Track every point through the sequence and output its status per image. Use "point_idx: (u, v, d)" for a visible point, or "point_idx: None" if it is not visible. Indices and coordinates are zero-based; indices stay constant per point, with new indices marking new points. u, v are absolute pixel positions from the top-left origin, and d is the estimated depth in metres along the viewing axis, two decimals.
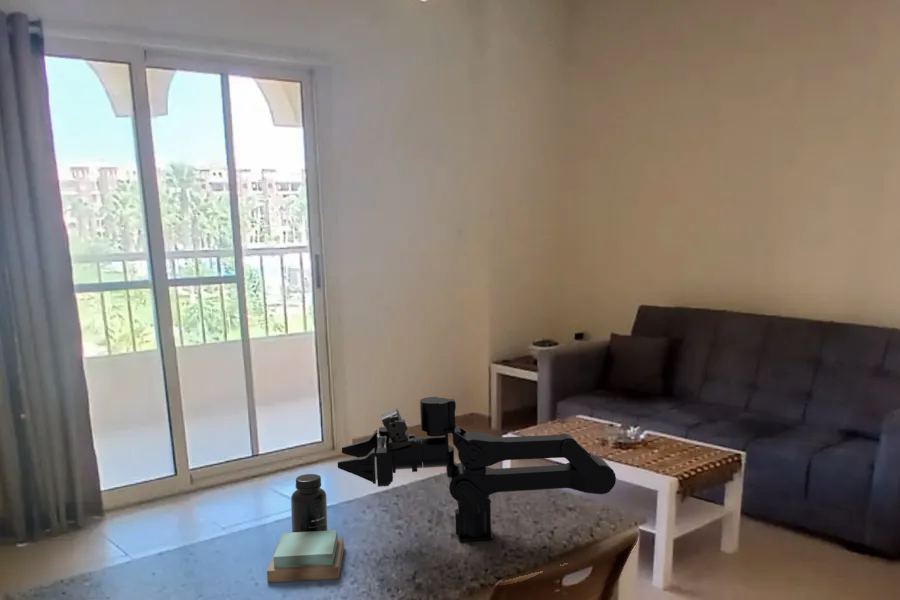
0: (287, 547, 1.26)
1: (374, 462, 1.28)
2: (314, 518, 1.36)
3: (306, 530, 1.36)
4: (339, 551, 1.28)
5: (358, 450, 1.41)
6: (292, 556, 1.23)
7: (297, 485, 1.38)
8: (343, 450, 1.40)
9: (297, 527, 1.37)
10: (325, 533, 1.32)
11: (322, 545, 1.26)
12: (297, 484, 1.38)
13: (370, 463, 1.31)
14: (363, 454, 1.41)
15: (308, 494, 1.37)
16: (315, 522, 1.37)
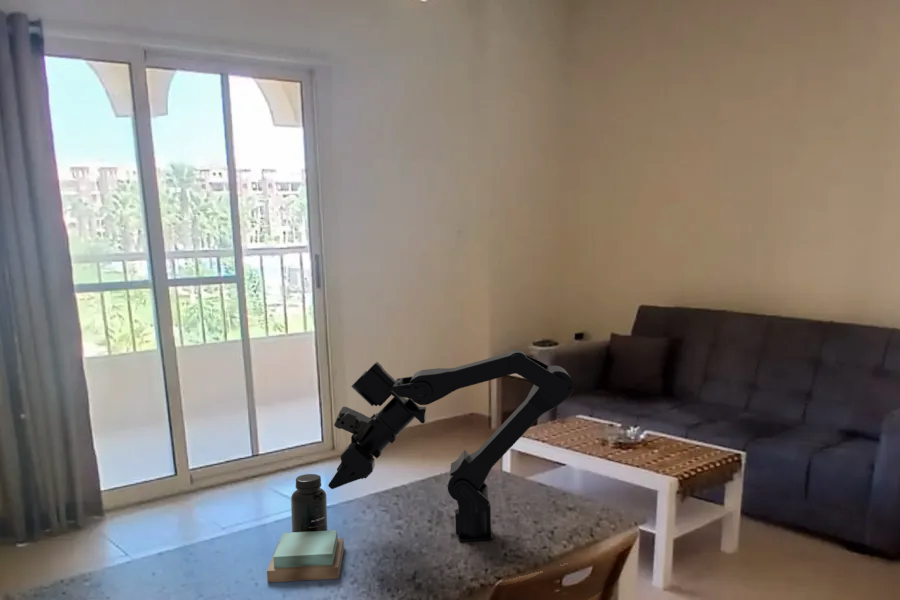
0: (287, 547, 1.26)
1: (347, 463, 1.30)
2: (314, 518, 1.36)
3: (306, 530, 1.36)
4: (339, 551, 1.28)
5: None
6: (292, 556, 1.23)
7: (297, 485, 1.38)
8: None
9: (297, 527, 1.37)
10: (325, 533, 1.32)
11: (322, 545, 1.26)
12: (297, 484, 1.38)
13: None
14: None
15: (308, 494, 1.37)
16: (315, 522, 1.37)
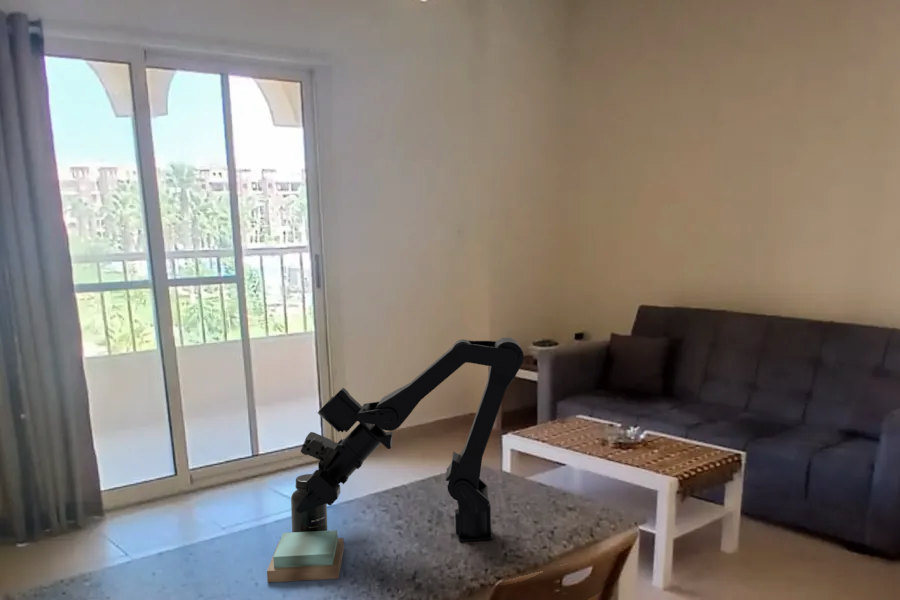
0: (287, 547, 1.26)
1: None
2: (314, 518, 1.36)
3: (306, 530, 1.36)
4: (339, 551, 1.28)
5: None
6: (292, 556, 1.23)
7: (297, 485, 1.38)
8: None
9: (297, 527, 1.37)
10: (325, 533, 1.32)
11: (322, 545, 1.26)
12: (297, 484, 1.38)
13: None
14: None
15: None
16: (315, 522, 1.37)
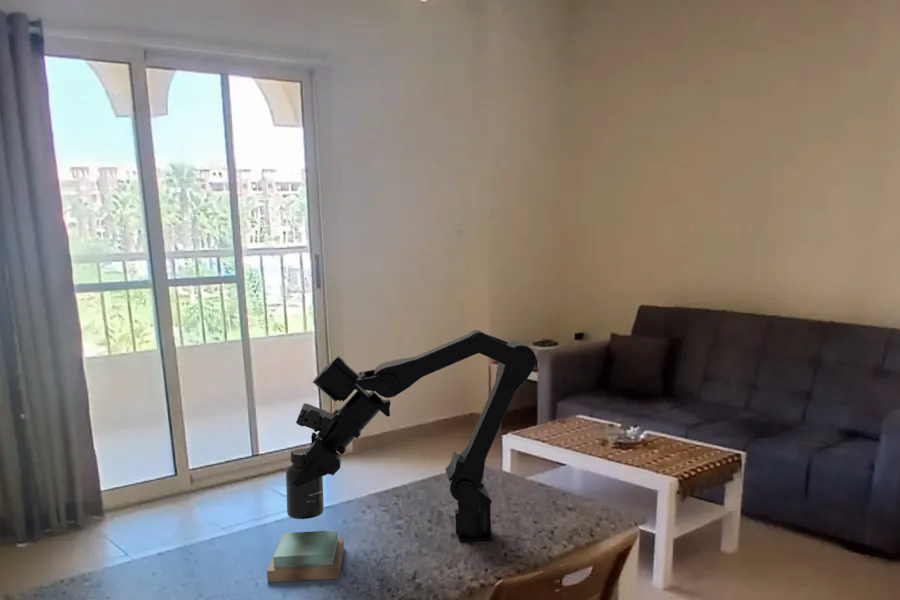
0: (287, 547, 1.26)
1: None
2: (312, 492, 1.32)
3: (304, 505, 1.31)
4: (339, 551, 1.28)
5: None
6: (292, 556, 1.23)
7: (293, 459, 1.33)
8: None
9: (293, 502, 1.32)
10: (325, 533, 1.32)
11: (322, 545, 1.26)
12: (293, 458, 1.33)
13: (315, 461, 1.30)
14: None
15: None
16: (313, 496, 1.32)
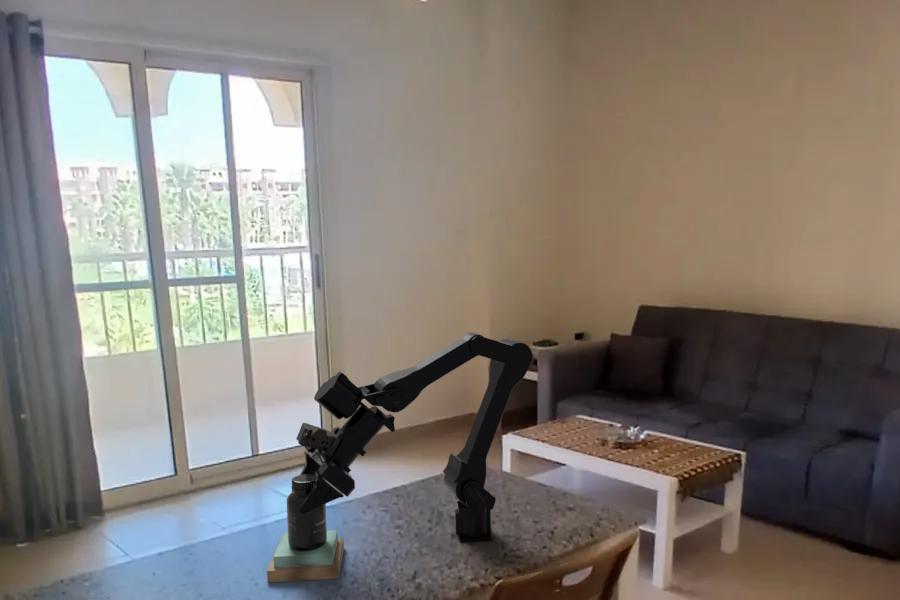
0: (287, 547, 1.26)
1: (326, 482, 1.20)
2: (318, 521, 1.25)
3: (310, 535, 1.24)
4: (339, 551, 1.28)
5: None
6: (292, 556, 1.23)
7: (296, 487, 1.25)
8: None
9: (299, 533, 1.24)
10: None
11: None
12: (296, 486, 1.25)
13: (324, 485, 1.22)
14: None
15: None
16: (319, 525, 1.25)
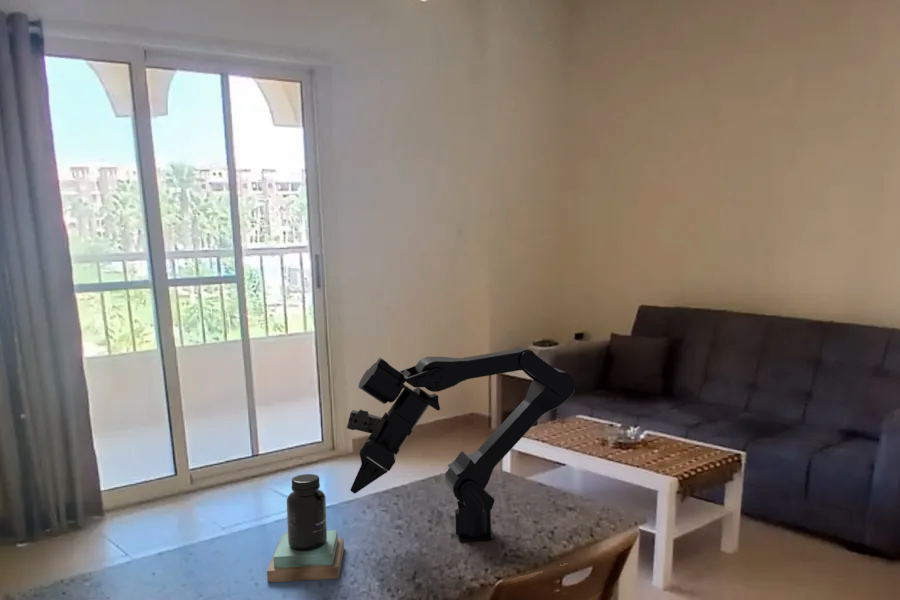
0: (287, 547, 1.26)
1: (368, 458, 1.25)
2: (318, 521, 1.25)
3: (310, 535, 1.24)
4: (339, 551, 1.28)
5: None
6: (292, 556, 1.23)
7: (296, 487, 1.25)
8: None
9: (299, 533, 1.24)
10: None
11: None
12: (296, 486, 1.25)
13: (370, 463, 1.27)
14: None
15: (311, 496, 1.25)
16: (319, 525, 1.25)
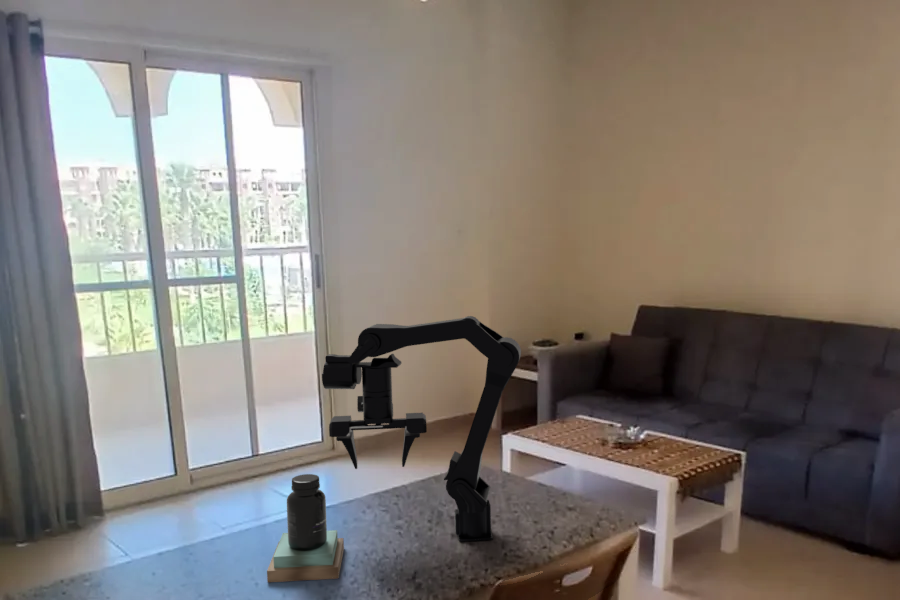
0: (287, 547, 1.26)
1: None
2: (318, 521, 1.25)
3: (310, 535, 1.24)
4: (339, 551, 1.28)
5: None
6: (292, 556, 1.23)
7: (296, 487, 1.25)
8: (402, 465, 1.41)
9: (299, 533, 1.24)
10: None
11: None
12: (296, 486, 1.25)
13: None
14: (403, 447, 1.39)
15: (311, 496, 1.25)
16: (319, 525, 1.25)
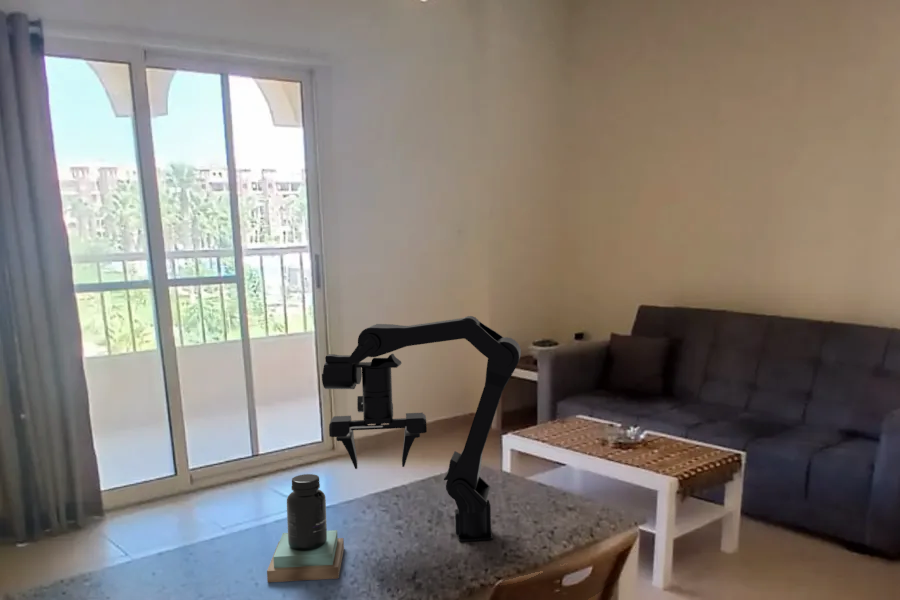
0: (287, 547, 1.26)
1: None
2: (318, 521, 1.25)
3: (310, 535, 1.24)
4: (339, 551, 1.28)
5: None
6: (292, 556, 1.23)
7: (296, 487, 1.25)
8: (402, 465, 1.41)
9: (299, 533, 1.24)
10: None
11: None
12: (296, 486, 1.25)
13: None
14: (403, 447, 1.39)
15: (311, 495, 1.25)
16: (319, 525, 1.25)
